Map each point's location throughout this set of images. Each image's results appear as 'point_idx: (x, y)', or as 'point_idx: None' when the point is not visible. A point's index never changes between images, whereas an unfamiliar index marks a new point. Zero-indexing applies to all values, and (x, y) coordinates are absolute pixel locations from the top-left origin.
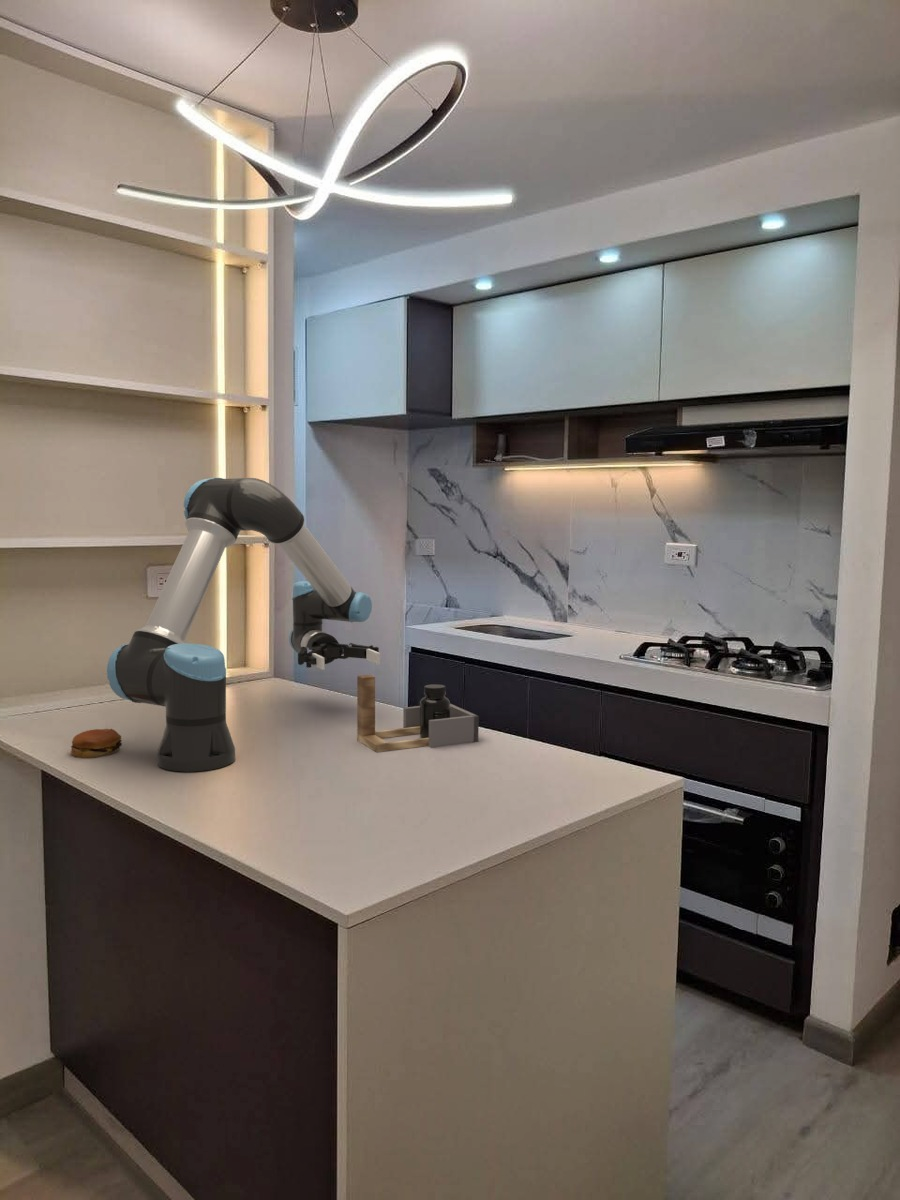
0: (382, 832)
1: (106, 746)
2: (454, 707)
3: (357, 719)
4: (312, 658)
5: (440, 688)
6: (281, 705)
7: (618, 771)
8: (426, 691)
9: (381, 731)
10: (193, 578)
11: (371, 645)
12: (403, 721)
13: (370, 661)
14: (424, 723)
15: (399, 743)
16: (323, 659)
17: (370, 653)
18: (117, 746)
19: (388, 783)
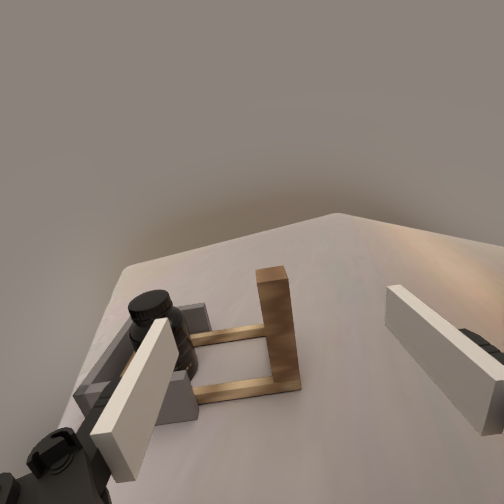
0: (316, 235)
1: None
2: (105, 359)
3: (297, 357)
4: (465, 330)
5: (153, 290)
6: None
7: (135, 276)
8: (169, 301)
9: (252, 380)
10: None
11: (40, 450)
12: (191, 401)
13: (157, 414)
14: (191, 340)
15: (251, 326)
16: (390, 291)
17: (146, 382)
18: None
19: (297, 270)
